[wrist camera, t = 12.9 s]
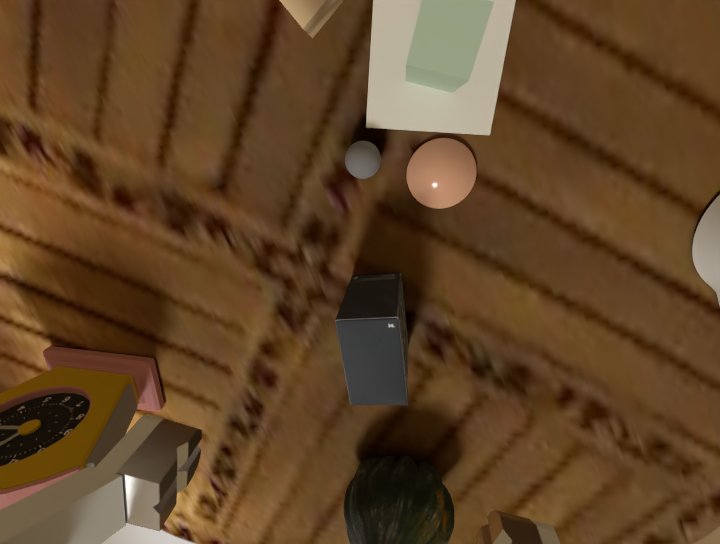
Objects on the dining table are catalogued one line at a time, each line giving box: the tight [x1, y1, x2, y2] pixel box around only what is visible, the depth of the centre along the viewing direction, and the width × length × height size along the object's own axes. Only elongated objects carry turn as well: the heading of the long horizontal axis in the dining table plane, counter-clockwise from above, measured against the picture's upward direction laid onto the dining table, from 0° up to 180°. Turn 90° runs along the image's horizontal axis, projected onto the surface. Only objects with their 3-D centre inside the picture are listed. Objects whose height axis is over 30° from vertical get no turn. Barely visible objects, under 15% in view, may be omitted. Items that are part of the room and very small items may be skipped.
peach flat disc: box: [407, 138, 476, 208], centre depth 36 cm, size 7×7×1 cm
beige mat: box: [366, 0, 516, 135], centre depth 31 cm, size 12×12×1 cm
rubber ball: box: [345, 141, 381, 179], centre depth 34 cm, size 4×4×4 cm
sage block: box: [405, 0, 494, 93], centre depth 27 cm, size 4×4×9 cm
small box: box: [335, 272, 408, 405], centre depth 38 cm, size 11×6×10 cm, turn 8°
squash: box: [344, 455, 454, 544], centre depth 47 cm, size 14×15×15 cm
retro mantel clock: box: [0, 346, 165, 510], centre depth 42 cm, size 22×9×22 cm, turn 87°
